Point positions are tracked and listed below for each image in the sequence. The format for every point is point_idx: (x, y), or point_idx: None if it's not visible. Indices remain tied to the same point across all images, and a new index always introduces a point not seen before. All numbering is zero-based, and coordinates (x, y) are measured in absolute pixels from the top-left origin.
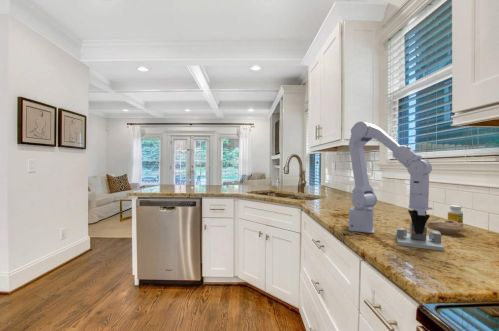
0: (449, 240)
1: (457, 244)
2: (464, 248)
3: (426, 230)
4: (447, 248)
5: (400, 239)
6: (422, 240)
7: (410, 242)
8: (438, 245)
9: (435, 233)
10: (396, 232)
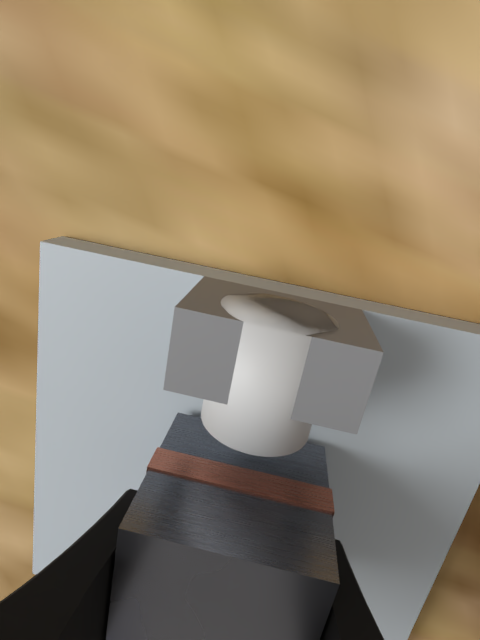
0: (20, 62)
1: (187, 34)
2: (362, 21)
3: (334, 542)
4: (405, 250)
5: None
6: None
7: (398, 590)
8: (471, 380)
9: (343, 414)
10: None
